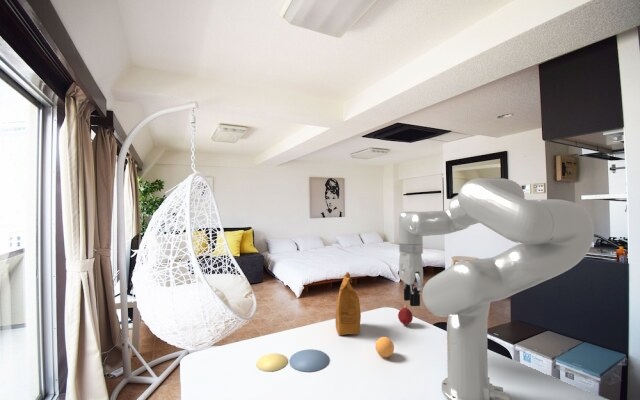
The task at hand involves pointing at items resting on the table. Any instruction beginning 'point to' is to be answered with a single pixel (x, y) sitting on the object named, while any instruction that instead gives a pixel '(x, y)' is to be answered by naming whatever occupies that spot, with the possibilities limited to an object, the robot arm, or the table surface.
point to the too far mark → (272, 362)
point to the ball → (384, 347)
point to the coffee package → (347, 309)
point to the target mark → (309, 360)
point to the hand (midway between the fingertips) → (411, 302)
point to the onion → (405, 316)
